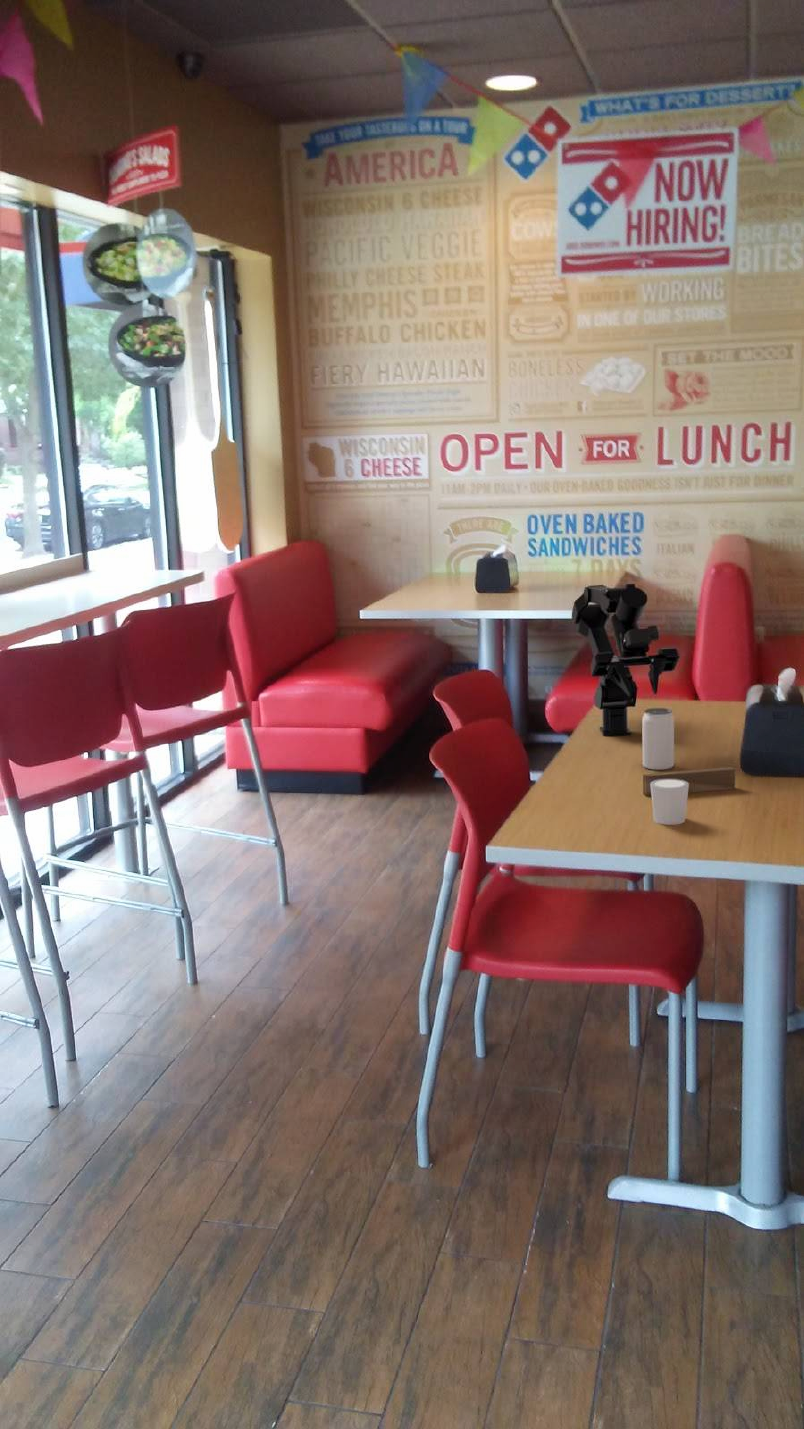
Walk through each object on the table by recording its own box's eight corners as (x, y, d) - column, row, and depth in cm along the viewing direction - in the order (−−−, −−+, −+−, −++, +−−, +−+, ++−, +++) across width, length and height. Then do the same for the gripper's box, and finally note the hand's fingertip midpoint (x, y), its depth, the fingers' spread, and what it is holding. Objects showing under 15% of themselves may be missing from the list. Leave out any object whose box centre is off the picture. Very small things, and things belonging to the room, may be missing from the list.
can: (672, 762, 274) (672, 707, 271) (675, 770, 267) (675, 714, 265) (641, 762, 274) (641, 707, 272) (643, 771, 268) (643, 714, 265)
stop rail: (643, 793, 252) (643, 774, 251) (731, 786, 254) (731, 766, 253) (645, 796, 251) (645, 776, 250) (734, 788, 253) (735, 769, 252)
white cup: (651, 825, 233) (651, 788, 231) (649, 814, 239) (649, 778, 238) (690, 825, 232) (690, 788, 230) (687, 814, 238) (687, 777, 237)
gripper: (593, 616, 277) (607, 676, 269) (676, 610, 279) (694, 670, 271) (584, 646, 287) (598, 705, 279) (665, 640, 289) (681, 698, 281)
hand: (643, 694), depth 277 cm, fingers open, 5 cm apart
